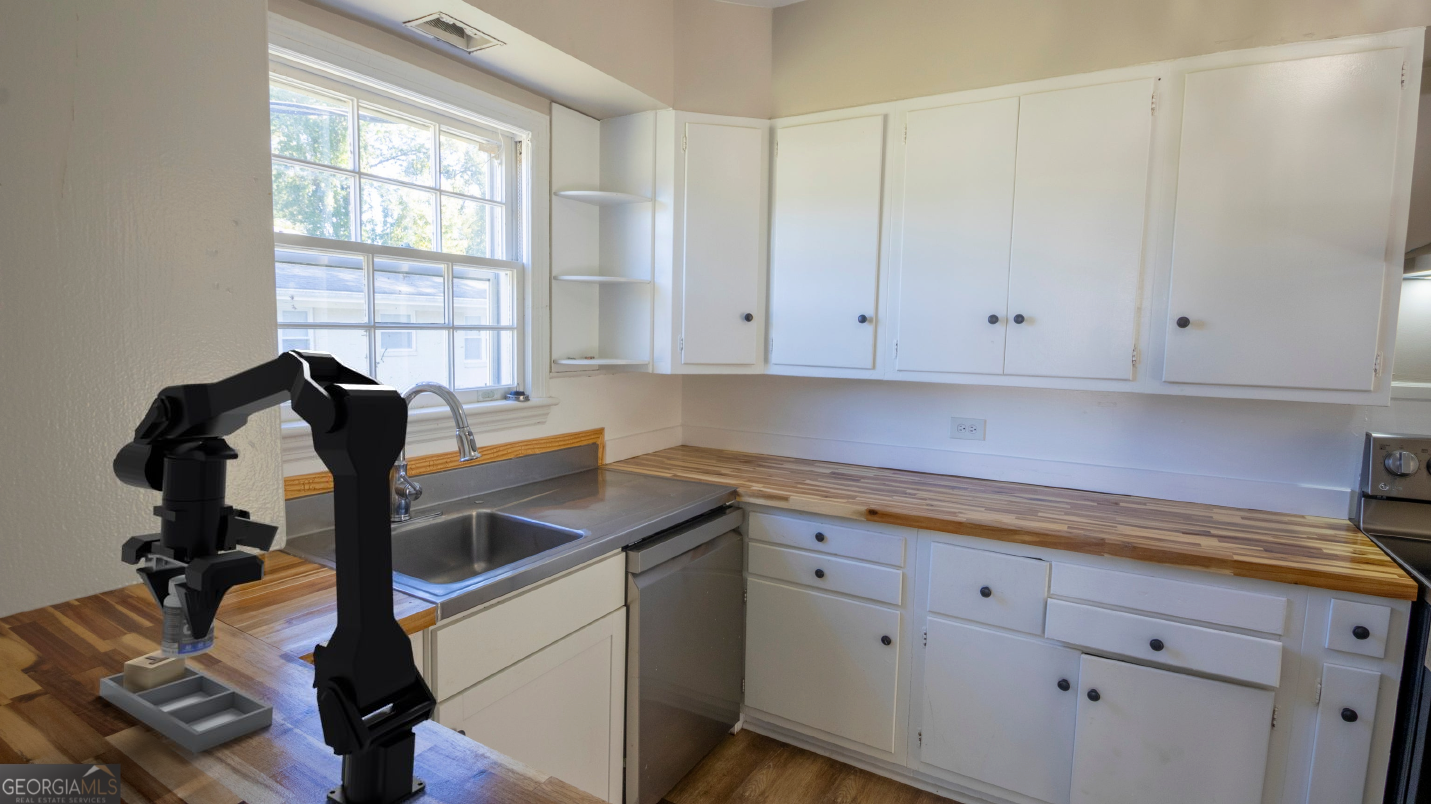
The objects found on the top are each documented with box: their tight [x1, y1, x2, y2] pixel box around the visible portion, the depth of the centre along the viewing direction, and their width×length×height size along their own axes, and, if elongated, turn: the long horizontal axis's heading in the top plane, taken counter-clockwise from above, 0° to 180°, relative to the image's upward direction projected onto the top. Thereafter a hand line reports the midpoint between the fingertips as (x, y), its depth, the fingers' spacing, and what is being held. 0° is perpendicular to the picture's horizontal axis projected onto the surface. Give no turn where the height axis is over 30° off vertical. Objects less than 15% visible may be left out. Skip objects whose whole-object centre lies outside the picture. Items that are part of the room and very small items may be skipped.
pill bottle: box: [160, 575, 216, 659], centre depth 78 cm, size 5×5×8 cm
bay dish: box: [99, 662, 274, 755], centre depth 78 cm, size 22×8×3 cm, turn 62°
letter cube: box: [123, 649, 186, 694], centre depth 82 cm, size 4×4×4 cm
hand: (188, 633), depth 78 cm, fingers closed on pill bottle, 5 cm apart
